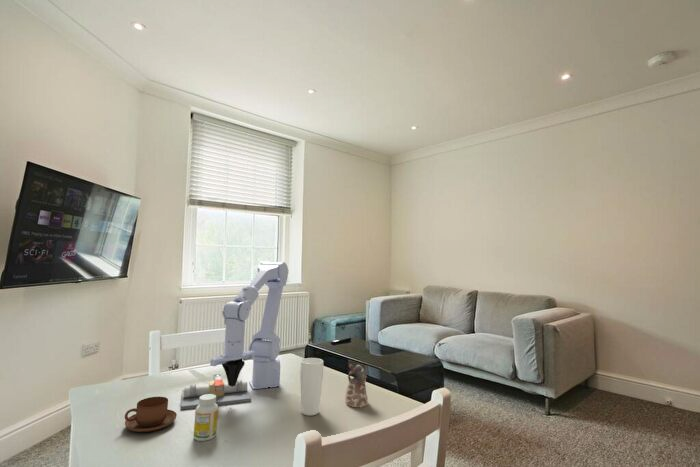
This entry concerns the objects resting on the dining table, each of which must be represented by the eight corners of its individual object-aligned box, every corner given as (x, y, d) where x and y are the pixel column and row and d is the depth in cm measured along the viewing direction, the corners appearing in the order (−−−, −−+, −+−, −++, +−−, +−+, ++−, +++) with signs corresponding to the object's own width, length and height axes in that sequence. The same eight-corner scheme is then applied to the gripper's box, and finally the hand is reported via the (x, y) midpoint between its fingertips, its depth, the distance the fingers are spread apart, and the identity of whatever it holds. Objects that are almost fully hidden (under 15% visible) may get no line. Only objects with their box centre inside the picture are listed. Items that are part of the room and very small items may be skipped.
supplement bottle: (200, 444, 86) (202, 402, 87) (189, 436, 89) (192, 396, 90) (220, 436, 90) (223, 396, 91) (209, 429, 93) (212, 391, 94)
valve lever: (212, 379, 116) (213, 373, 116) (220, 378, 117) (221, 373, 117) (215, 391, 105) (215, 386, 105) (223, 390, 106) (223, 385, 106)
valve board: (245, 386, 125) (245, 370, 126) (251, 401, 113) (252, 383, 113) (182, 393, 117) (183, 376, 118) (180, 409, 105) (182, 390, 105)
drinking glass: (303, 419, 101) (305, 364, 102) (295, 410, 107) (297, 358, 108) (325, 415, 104) (327, 362, 106) (316, 406, 110) (318, 356, 112)
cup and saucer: (139, 441, 86) (141, 415, 87) (115, 427, 93) (117, 403, 93) (185, 423, 97) (187, 400, 97) (160, 412, 103) (161, 390, 103)
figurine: (365, 409, 110) (366, 368, 111) (343, 406, 111) (344, 366, 112) (369, 400, 117) (370, 362, 118) (347, 398, 118) (348, 360, 119)
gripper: (246, 335, 120) (244, 377, 119) (206, 341, 109) (203, 388, 108) (259, 338, 116) (257, 381, 115) (219, 345, 104) (216, 393, 103)
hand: (231, 385), depth 111 cm, fingers closed
